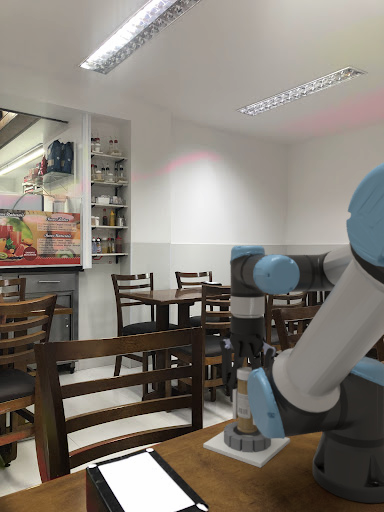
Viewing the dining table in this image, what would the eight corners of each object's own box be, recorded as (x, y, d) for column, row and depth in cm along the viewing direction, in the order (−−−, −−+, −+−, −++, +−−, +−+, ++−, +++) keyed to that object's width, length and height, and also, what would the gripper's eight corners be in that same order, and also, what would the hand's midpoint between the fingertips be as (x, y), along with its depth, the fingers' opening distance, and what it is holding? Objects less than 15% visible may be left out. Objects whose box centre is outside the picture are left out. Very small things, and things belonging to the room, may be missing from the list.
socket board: (290, 442, 92) (290, 427, 92) (260, 467, 81) (260, 451, 81) (236, 426, 101) (236, 413, 101) (203, 447, 90) (203, 432, 90)
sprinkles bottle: (261, 430, 90) (262, 369, 90) (246, 435, 88) (246, 373, 88) (247, 423, 94) (248, 365, 94) (232, 428, 92) (232, 368, 92)
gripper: (291, 316, 88) (291, 424, 89) (223, 309, 99) (223, 405, 99) (276, 321, 82) (275, 436, 83) (205, 313, 93) (205, 415, 93)
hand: (247, 419), depth 91 cm, fingers closed on sprinkles bottle, 4 cm apart
